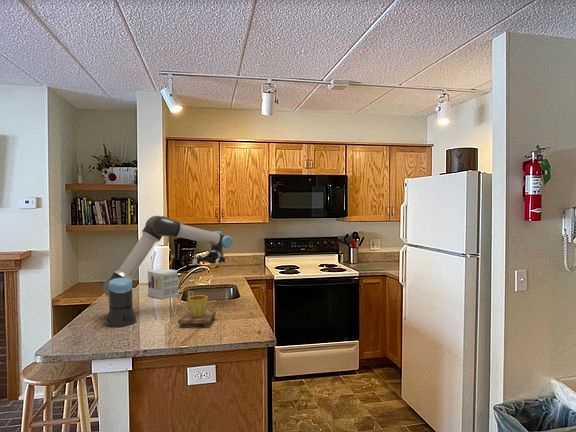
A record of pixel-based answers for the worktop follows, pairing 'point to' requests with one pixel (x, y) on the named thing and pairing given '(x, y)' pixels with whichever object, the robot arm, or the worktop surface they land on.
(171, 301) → the worktop surface
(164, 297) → the supplement box
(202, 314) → the plant pot
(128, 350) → the worktop surface
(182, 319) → the walnut stand
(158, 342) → the worktop surface
